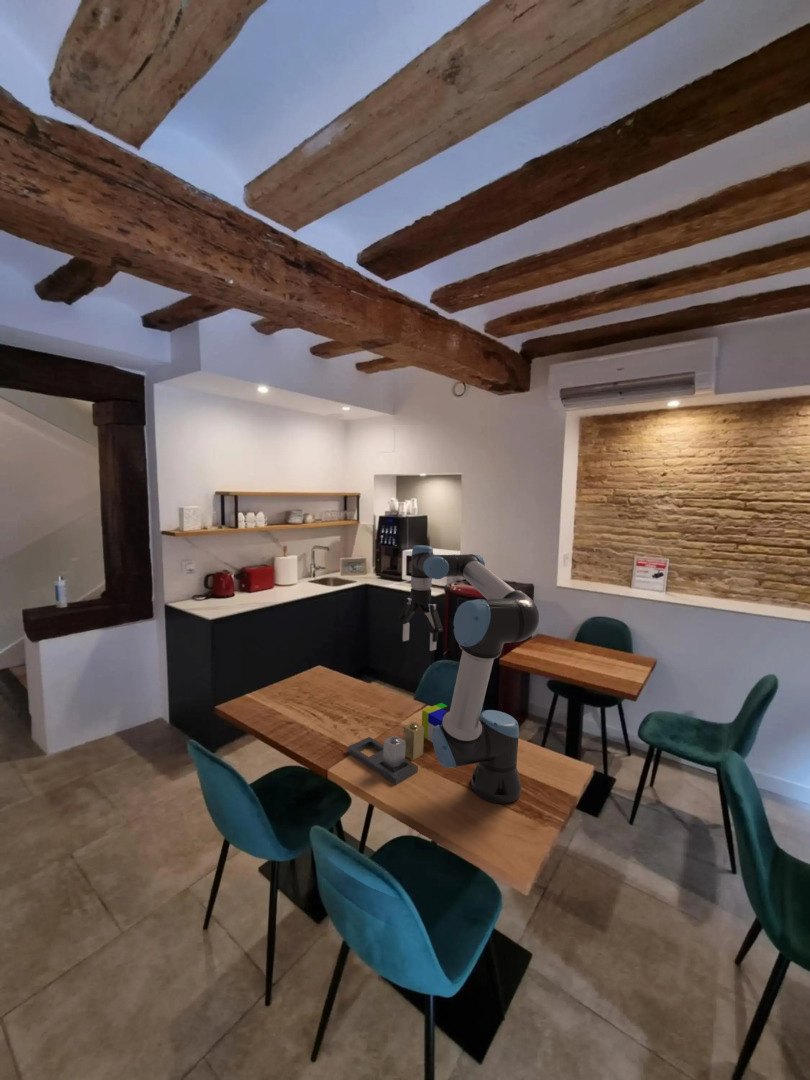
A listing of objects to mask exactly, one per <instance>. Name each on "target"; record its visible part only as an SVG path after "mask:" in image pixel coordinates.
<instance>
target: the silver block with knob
mask: <svg viewBox="0 0 810 1080" xmlns="http://www.w3.org/2000/svg"><path fill="white" fill-rule="evenodd" d="M383 745H384V753H383V767H385V768H386V769H388V770H389V771H391V772H392V773H395V772H397V771H399V770H400V769H402V768H404V767H405V758H406V756H405V745H406V741H405V740H403V738H401V737H399V736H398V735H395V734H394V735H392V736H390V737H388V738H386V739H384V740H383Z"/></svg>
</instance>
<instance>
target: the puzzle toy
mask: <svg viewBox="0 0 810 1080" xmlns="http://www.w3.org/2000/svg"><path fill="white" fill-rule="evenodd" d="M450 708H451V706H448V705H446V704H445V703H443V702H441V703H437V704H435V705H432V706H430V707H426V708H424V709H422V710H421V711H422V712H421V716H422V717H421V726H423V727H424V739H427V740H428V741H429V742H431V743H432V744H433V740H432V730H433V727H435V726H437V725H442V721H443V717H444V715H445V714H446V713H448V712H449V711H450Z"/></svg>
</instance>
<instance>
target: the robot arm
mask: <svg viewBox="0 0 810 1080" xmlns="http://www.w3.org/2000/svg"><path fill="white" fill-rule="evenodd" d="M410 575H411V578H410V597H407V598H406V597H405V598H404V603H403V606H402V608H401V611H400V613H399V616H398V617H397V620H398V621H400V622H401V632H402V642H406V641H407V642H408V641H409V640H410V620H411V619H412V618H413V616H414V615H415V614H419V615H421V616H423V617H424V618H425V621H426V622H427V625H428V627H429V629H430V630H431V632H429V651H430V652H432V651H435V650H437V643H438V641H439V633H441V632H444V627H443V625H442V622H441V617H440V614H439V612H438V605H437V604H436V603H434V604H432V603H431V598H432V586H433V585H432V584H433V583H432V581H433V579H434V580H441V579H443V578H445V577H447V578H450V577H462V578H463V579H465V580H466V581H467V582H468V583H469V584H470V585H471V586H472V587H473V588H475V590H476V591H477V592H478V593H480V594H481V595H482V596H483V597H484V598H485V599H482V598H478V599H472V600H466V601H464V602H462V603H461V604H460V605H458V607H457V609H456V610H455V614H454V617H453V627H454V628H453V634H454V638H455V640H456V642H457V643H458V646H459V648H460V649H461V656H460V660H459V666H458V670H457V675H456V679H455V685H454V690H453V694H452V699H451V704H450V711H449V712H448V713H446V714H445V715H444V717H443V721H442V725H437V726H435V727H433V730H432V740H433V743H432V745H433V750H434V753H435V755H436V759H437V760H438V762H439V764H440V765H441V766H442V767H443V768H445V769H449V768H450V769H451V768H459V767H463V766H464V767H465V766H468V765H474V764H476V765H475V768H474V770H473V773H472V775H471V783H470V784H471V789H472V790H473V792H474V793H475V794H476V795H477V796H478V797H479V798H481V799H482V800H484V801H487V802H490V803H492V804H500V805H501V804H502V805H504V804H505V805H506V804H511V803H514V802H516V801H517V800H519V798H520V797H521V794H522V782H521V778H520V775H519V771H518V767H517V765H518V750H519V749H518V748H519V737H520V733H519V731H520V730H519V723H518V720H516V719H515V718H514V717H513V716H512V715H510V714H508V713H506V712H504V711H503V712H502V711H500V710H495V709H487V710H483V711H482V709H483V705H484V701H485V696H486V693H487V690H488V689H487V688H488V684H489V681H490V676H491V673H492V668H493V663H494V660H495V659H497V658H499V657H500V656H501V654H502V651H503V647H504V645H505V644H508V643H510V644H511V643H518V642H522V641H525V640H527V639H528V638H530V637H531V636H533V634H534V633H535V632H536V630H537V628H538V625H539V622H540V613H539V609H538V607H537V605H536V603H535V602H534V600H533V599H532V598H531V597H529V595H527V594H526V593H525V592H523V591H521V590H517V589H516V590H515V588H513V587H512V586H510V585H509V584H508V583H506V582H505V581H504V580H503V579H502V578H500V577H499V576H498V575H496V574H495V573H494V572H492V571H491V570H490V569H489V568H488V567H487V566H486V563H485V560H484V557H483V556H481V555H480V554H473V553H472V554H471V553H470V554H434V549H433V547H432V546H431V545H422V544H419V545H417V544H416V545H414V546H412V550H411V574H410Z"/></svg>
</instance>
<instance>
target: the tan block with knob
mask: <svg viewBox="0 0 810 1080" xmlns="http://www.w3.org/2000/svg"><path fill="white" fill-rule="evenodd" d="M402 730H403V731H402V732H403V735H402V739H403V740H405V741H406V745H405V757H407V758H408V759H410V760H411V761H414V760H416V759H418V758H420V757H422V756H423V755H424V744H425V743H424V740H425V737H424V727H423V726H422V724H421V725H420V724H419V723H416V722H414V721H412V722H410V723H409V724H406V725H404V726H403V728H402Z"/></svg>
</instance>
